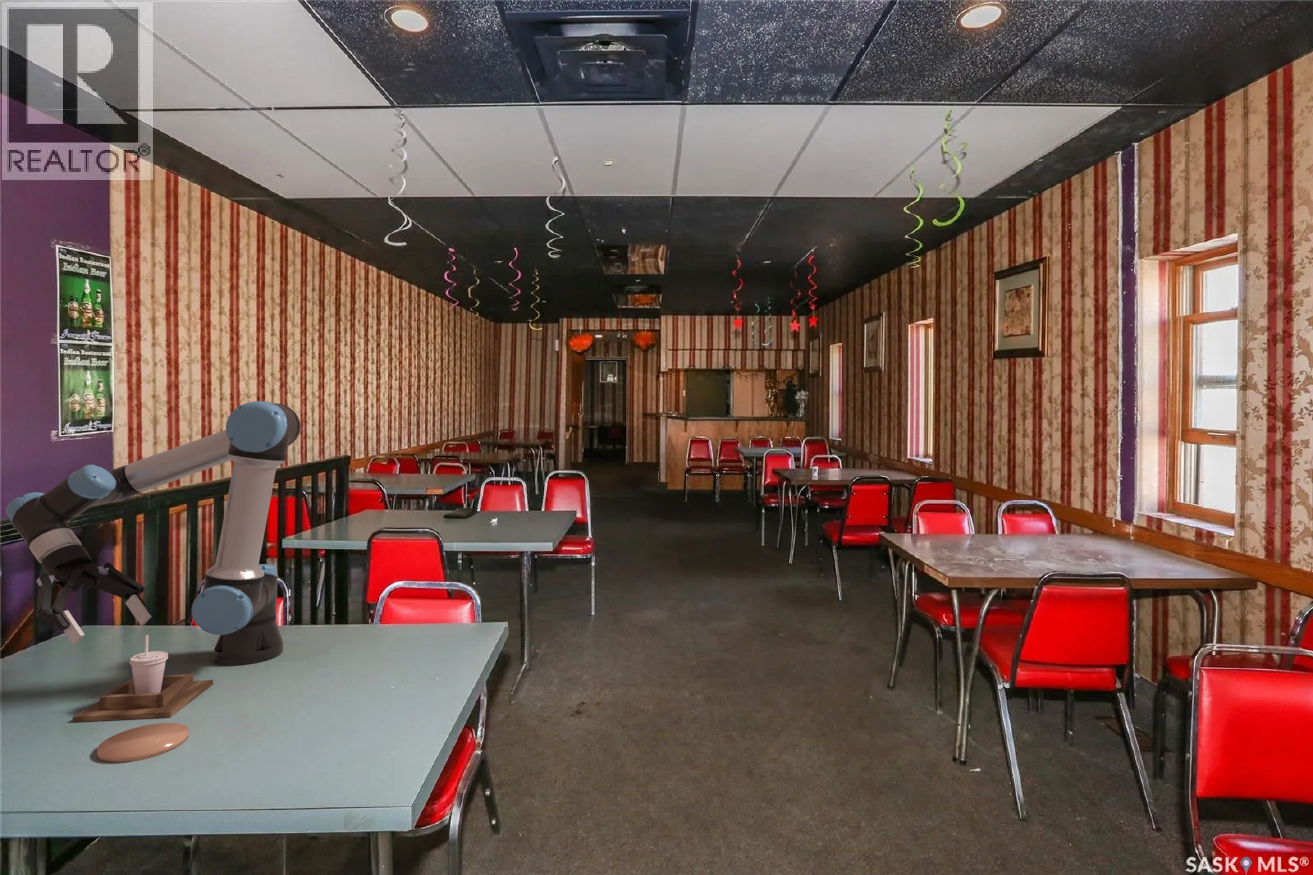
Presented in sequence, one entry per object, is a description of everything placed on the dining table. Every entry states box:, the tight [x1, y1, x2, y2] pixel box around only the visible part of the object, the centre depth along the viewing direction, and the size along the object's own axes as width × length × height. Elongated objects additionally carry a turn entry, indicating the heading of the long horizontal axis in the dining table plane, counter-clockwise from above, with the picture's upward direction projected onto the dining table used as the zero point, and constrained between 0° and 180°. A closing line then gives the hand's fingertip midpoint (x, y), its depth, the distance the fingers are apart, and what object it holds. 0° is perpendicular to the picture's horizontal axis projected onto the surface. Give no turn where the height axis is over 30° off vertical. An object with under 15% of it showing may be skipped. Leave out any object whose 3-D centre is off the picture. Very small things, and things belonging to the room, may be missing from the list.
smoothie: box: [129, 634, 169, 694], centre depth 135 cm, size 6×6×14 cm
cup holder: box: [72, 673, 214, 723], centre depth 135 cm, size 17×17×4 cm
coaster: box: [96, 722, 190, 763], centre depth 117 cm, size 13×13×1 cm
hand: (114, 630), depth 136 cm, fingers open, 13 cm apart
